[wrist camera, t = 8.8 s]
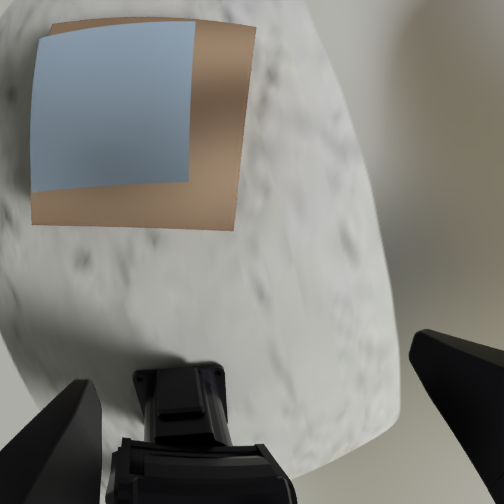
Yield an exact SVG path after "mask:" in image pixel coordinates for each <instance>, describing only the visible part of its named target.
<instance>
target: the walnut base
mask: <svg viewBox="0 0 504 504" xmlns="http://www.w3.org/2000/svg"><path fill="white" fill-rule="evenodd" d="M169 21H196V24H195V36H194V49H193V63H192V80H191V101H190V129H189V182H172V183H146V184H127V185H110V186H96V187H83V188H72V189H61V190H51V191H42V192H33V193H32V190H31V220H32V225H60V226H105V227H139V228H169V229H195V230H219V231H234V222H235V212H236V201H237V191H238V182H239V172H240V162H241V153H242V144H243V135H244V126H245V117H246V108H247V99H248V91H249V82H250V74H251V66H252V58H253V50H254V42H255V34H256V27H252V26H246V25H240V24H233V23H226V22H217V21H208V20H198V19H185V18H165V17H123V18H103V19H90V20H80V21H72V22H64V23H57V24H52V27H51V31H50V35H49V36H52V35H56V34H61V33H66V32H71V31H76V30H82V29H89V28H95V27H102V26H111V25H120V24H130V23H144V22H169Z"/></svg>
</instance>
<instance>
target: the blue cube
mask: <svg viewBox="0 0 504 504" xmlns="http://www.w3.org/2000/svg"><path fill="white" fill-rule="evenodd" d="M195 24H196V21H169V22H144V23H130V24H120V25H111V26H102V27H95V28H89V29H82V30H76V31H71V32H66V33H61V34H56V35H52V36H47V37H43V38H39V44H38V50H37V56H36V63H35V71H34V79H33V90H32V102H31V120H30V171H31V190H32V193H33V192H42V191H51V190H61V189H72V188H83V187H96V186H110V185H127V184H146V183H172V182H189V129H190V101H191V80H192V63H193V49H194V36H195Z"/></svg>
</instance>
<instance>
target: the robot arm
mask: <svg viewBox="0 0 504 504" xmlns="http://www.w3.org/2000/svg"><path fill="white" fill-rule="evenodd" d="M409 360H410V363H411V364H412V366H413V368H414V370H415V372H416V373H417V375H418V377H419V379H420V381H421V382H422V384H423V386H424V388H425V390H426V392H427V393H428V395H429V397H430V398H431V400H432V402H433V403H434V405H435V406H436V408H437V409H438V411H439V412H440V414H441V415H442V417H443V418H444V420H445V421H446V423H447V424H448V426H449V427H450V429H451V430H452V432H453V433H454V435H455V437H456V438H457V440H458V441H459V443H460V444H461V446H462V448H463V449H464V451H465V452H466V454H467V455H468V457H469V459H470V461H471V462H472V464H473V465H474V467H475V469H476V470H477V472H478V474H479V475H480V477H481V479H482V480H483V482H484V484H485V485H486V487H487V489H488V491H489V493H490V495H491V496H492V498H493V500H494V502H495V503H496V504H504V351H503V350H499V349H495V348H492V347H489V346H485V345H481V344H477V343H474V342H471V341H467V340H464V339H461V338H457V337H453V336H450V335H447V334H443V333H440V332H437V331H433V330H430V329H424V330H420V331H418V332H416V333H415V335H414V337H413V341H412V344H411V347H410V351H409ZM215 371H219V372H218V373H215ZM138 377H142V378H141V379H140V378H138ZM133 382H134V385H135V389H136V392H137V396H138V399H139V402H140V406H141V409H142V412H143V415H144V418H145V425H144V441H135V440H131V438H124V437H122V445H121V447H118V451H116V452H114V453H112V462H111V473H110V478H109V482H108V487H107V491H106V496H105V502H106V504H297V497H296V493H295V489H294V487H293V484H292V482H291V481H290V479H289V478H288V476H287V475H286V474H285V472H284V471H283V470H282V468H281V467H280V466H279V464H278V463H277V462H276V460H275V459H274V458H273V456H272V455H271V453H270V452H269V451H268V449H267V448H266V447H265V445H264V444H255V445H254V446H233V445H232V441H231V438H230V434H229V430H228V426H227V423H228V418H227V403H226V387H225V372H224V368H223V367H222V366H221V365H208V366H197V367H186V368H173V369H159V370H140V371H136V372H134V374H133ZM101 471H102V409H101V403H100V400H99V398H98V395H97V393H96V390H95V387H94V385H93V382H92V381H91V380H90V379H75V380H73V381H72V382H71V383H70V384H69V385H68V386H67V387H66V388H65V389H64V390H63V391H62V392H60V393H59V394H58V395H57V396H56V397H55V398H54V399H53V400H52V401H51V402H50V403H49V404H48V405H47V406H46V407H45V408H44V409H43V410H42V411H41V412H40V413H38V414H37V416H35V417H34V418H33V419H32V420H31V421H30V422H29V423H28V424H27V425H26V426H25V427H24V428H23V429H22V430H21V431H20V432H19V433H18V434H17V435H16V436H15V437H14V438H13V439H12V440H11V441H10V442H9V443H8V444H7V445H6V446H5V447H4V448H3V449H2V450H1V451H0V504H99V502H100V485H101Z"/></svg>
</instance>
